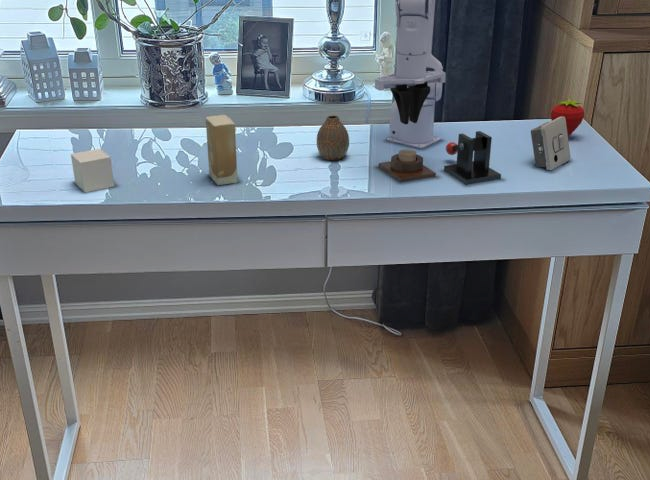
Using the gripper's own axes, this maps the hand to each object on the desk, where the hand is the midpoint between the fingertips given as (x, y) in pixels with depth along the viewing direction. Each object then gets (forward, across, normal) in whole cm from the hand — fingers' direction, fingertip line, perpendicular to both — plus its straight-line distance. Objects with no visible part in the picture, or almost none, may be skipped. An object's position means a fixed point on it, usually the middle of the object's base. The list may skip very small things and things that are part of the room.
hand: (408, 122), depth 179 cm
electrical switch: (+11, +30, -8) cm, 32 cm away
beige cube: (+11, -60, +19) cm, 64 cm away
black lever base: (+10, +11, -7) cm, 17 cm away
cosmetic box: (+11, -36, +11) cm, 39 cm away
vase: (+11, -10, +14) cm, 21 cm away
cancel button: (+8, 0, 0) cm, 8 cm away
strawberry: (+11, +43, +5) cm, 45 cm away
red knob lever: (+7, +11, -3) cm, 14 cm away
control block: (+10, 0, 0) cm, 10 cm away
